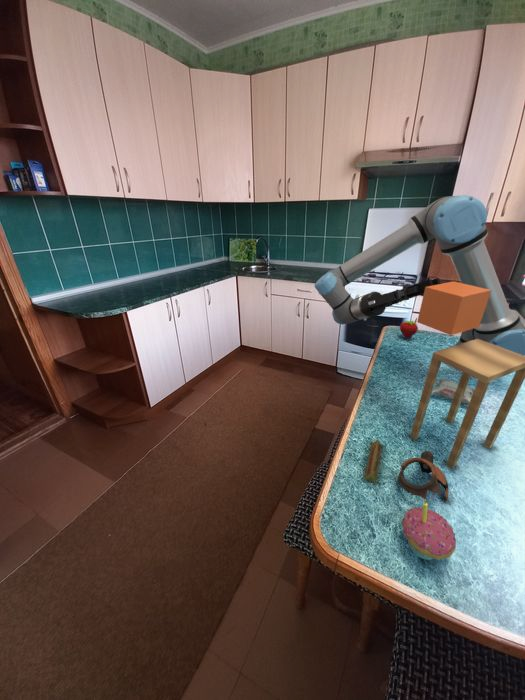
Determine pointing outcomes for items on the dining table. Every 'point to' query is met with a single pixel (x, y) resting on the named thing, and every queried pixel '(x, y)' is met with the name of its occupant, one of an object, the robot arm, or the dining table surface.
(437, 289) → the orange handled block
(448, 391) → the packaged food
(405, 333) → the strawberry
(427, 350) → the dining table surface
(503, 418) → the wooden stool
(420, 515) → the cupcake
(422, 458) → the rusty ring bracket
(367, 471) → the chocolate bar
